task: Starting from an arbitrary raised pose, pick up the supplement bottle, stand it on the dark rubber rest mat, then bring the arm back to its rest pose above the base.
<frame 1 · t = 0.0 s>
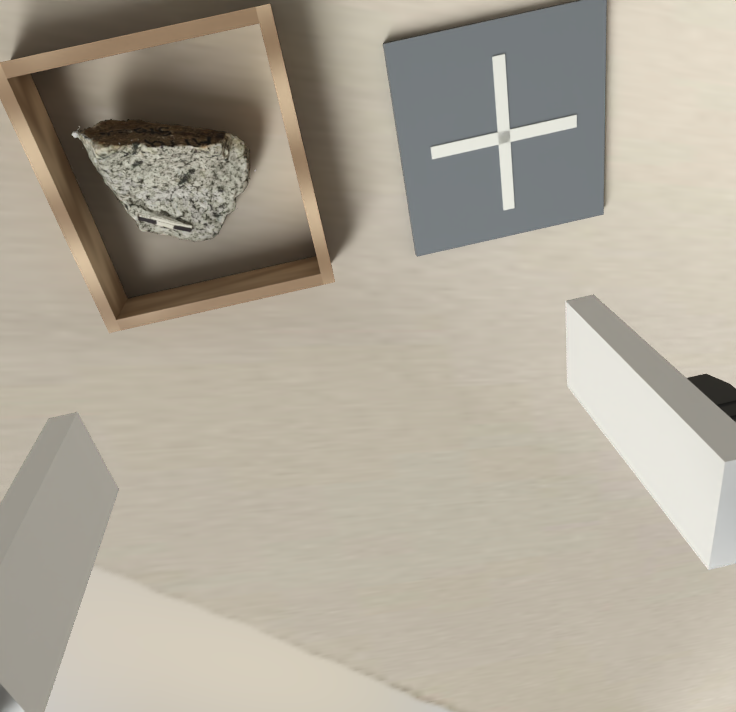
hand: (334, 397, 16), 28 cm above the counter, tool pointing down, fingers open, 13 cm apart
rest mat: (501, 135, 41), on the counter
rock sample: (188, 174, 40), resting in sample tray
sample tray: (188, 173, 40), on the counter
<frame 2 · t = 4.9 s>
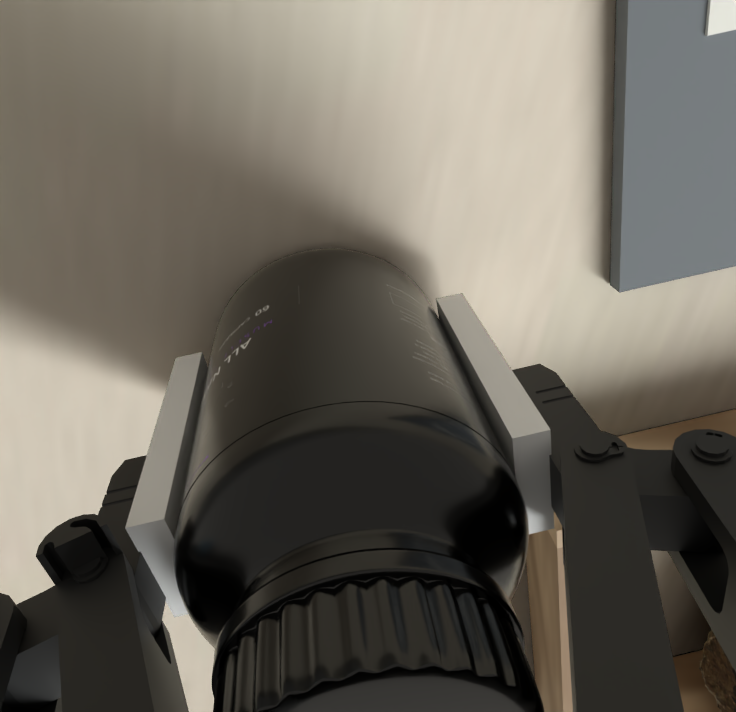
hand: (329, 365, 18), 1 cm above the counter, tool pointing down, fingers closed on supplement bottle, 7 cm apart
supplement bottle: (327, 345, 19), on the counter, touching gripper
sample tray: (716, 553, 26), on the counter
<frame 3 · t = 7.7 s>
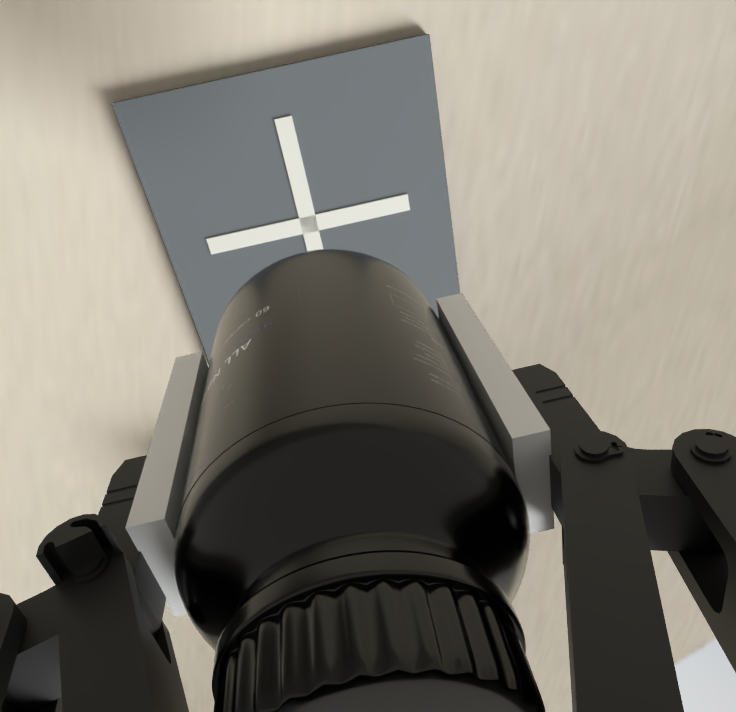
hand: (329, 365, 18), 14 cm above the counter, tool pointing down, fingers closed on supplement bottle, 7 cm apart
rest mat: (308, 220, 30), on the counter
supplement bottle: (327, 346, 19), point 13 cm above the counter, touching gripper
when the fingers open (3 cm above the counter, at t = 10.4 s): supplement bottle drops 1 cm, resting on rest mat.
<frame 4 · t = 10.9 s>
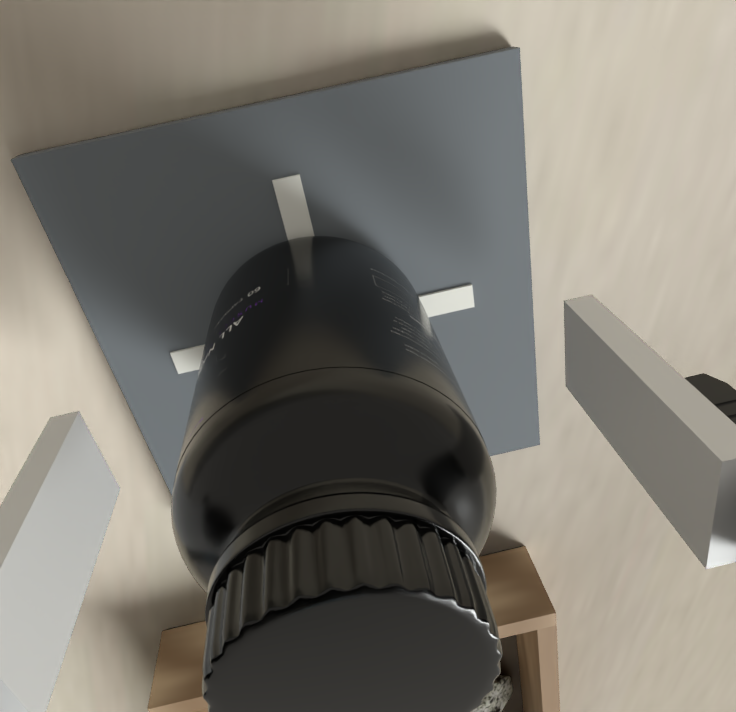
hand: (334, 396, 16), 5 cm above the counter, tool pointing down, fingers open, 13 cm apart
rest mat: (323, 320, 20), on the counter
rock sample: (428, 685, 32), resting in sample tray
supplement bottle: (317, 329, 20), resting on rest mat
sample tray: (375, 687, 31), on the counter
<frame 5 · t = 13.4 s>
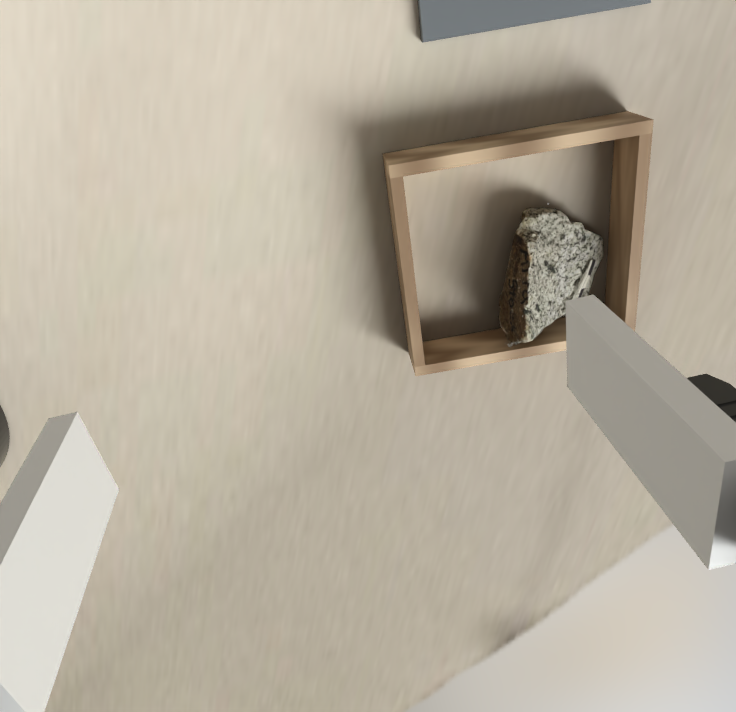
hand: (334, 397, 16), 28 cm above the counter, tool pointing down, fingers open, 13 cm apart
rock sample: (541, 255, 45), resting in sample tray
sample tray: (508, 242, 44), on the counter
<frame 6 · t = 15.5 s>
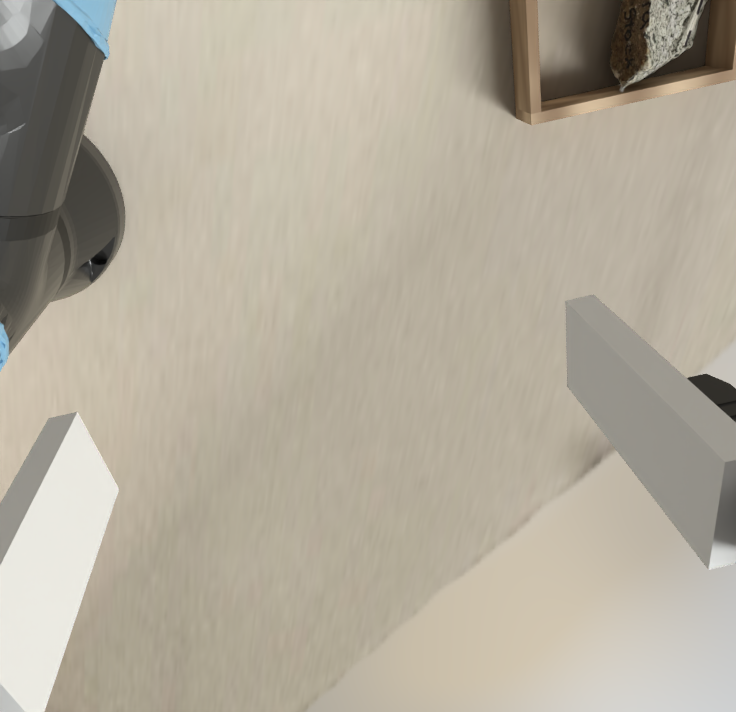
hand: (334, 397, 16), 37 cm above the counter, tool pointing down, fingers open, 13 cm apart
rock sample: (647, 3, 46), resting in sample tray
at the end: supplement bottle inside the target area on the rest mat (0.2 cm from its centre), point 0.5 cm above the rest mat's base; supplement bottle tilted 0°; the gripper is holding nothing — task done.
